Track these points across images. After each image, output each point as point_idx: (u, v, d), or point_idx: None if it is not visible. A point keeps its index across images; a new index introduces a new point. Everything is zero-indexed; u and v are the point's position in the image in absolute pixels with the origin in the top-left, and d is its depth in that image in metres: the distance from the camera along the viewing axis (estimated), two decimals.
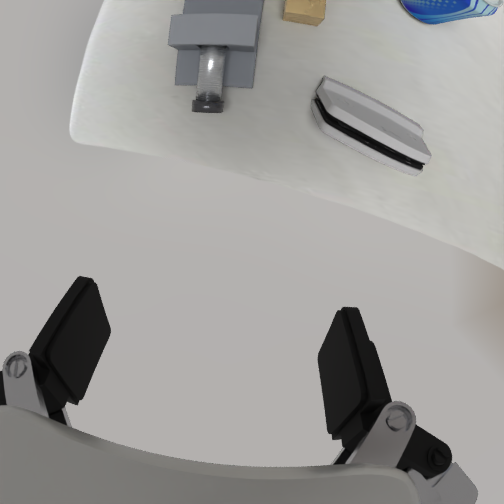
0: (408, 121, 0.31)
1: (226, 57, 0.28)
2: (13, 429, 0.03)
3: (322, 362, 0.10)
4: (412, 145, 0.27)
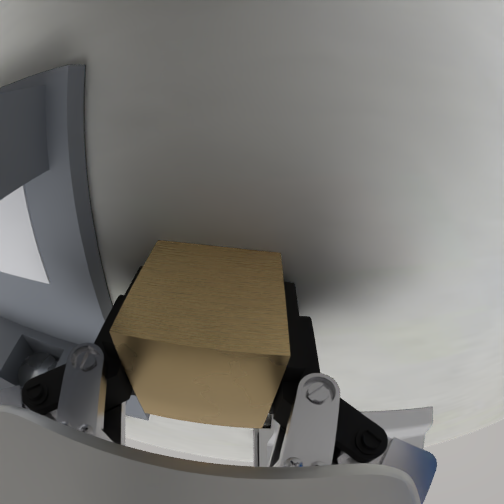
0: (412, 427, 0.17)
1: None
2: (12, 429, 0.03)
3: None
4: None
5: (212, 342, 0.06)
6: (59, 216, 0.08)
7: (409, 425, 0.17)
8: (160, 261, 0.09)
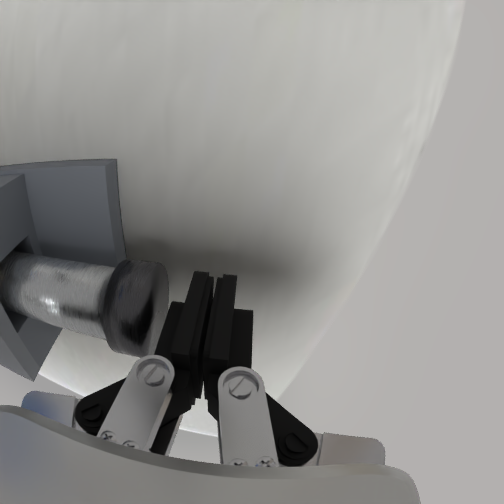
0: None
1: (50, 238, 0.11)
2: (13, 429, 0.03)
3: None
4: None
5: None
6: None
7: None
8: None
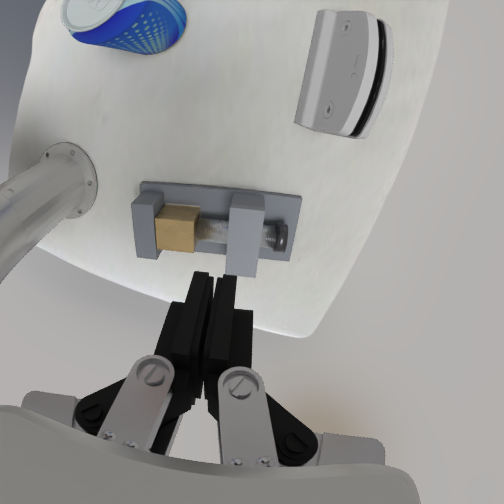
0: (322, 28, 0.23)
1: (268, 220, 0.38)
2: (12, 429, 0.03)
3: None
4: (362, 39, 0.19)
5: (156, 230, 0.34)
6: (176, 192, 0.36)
7: (319, 31, 0.24)
8: None
